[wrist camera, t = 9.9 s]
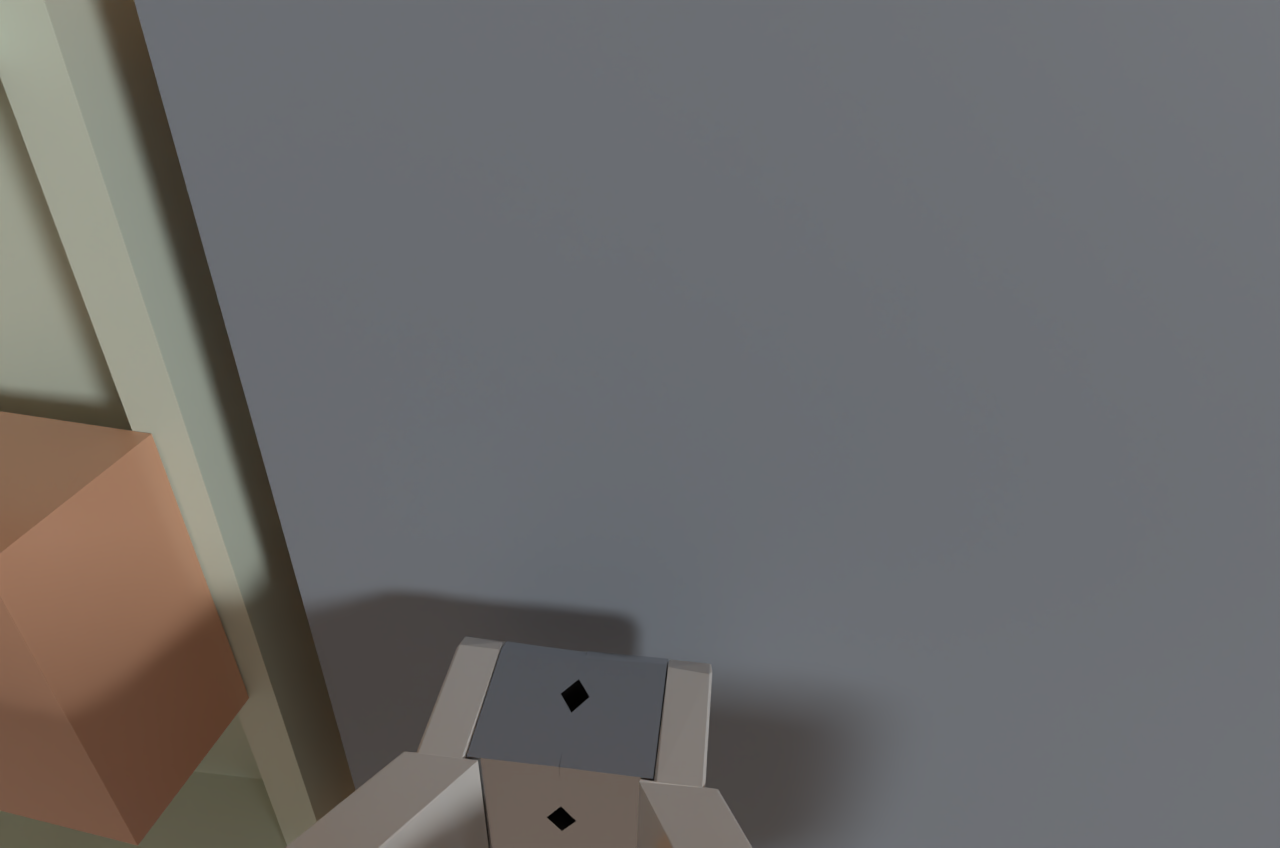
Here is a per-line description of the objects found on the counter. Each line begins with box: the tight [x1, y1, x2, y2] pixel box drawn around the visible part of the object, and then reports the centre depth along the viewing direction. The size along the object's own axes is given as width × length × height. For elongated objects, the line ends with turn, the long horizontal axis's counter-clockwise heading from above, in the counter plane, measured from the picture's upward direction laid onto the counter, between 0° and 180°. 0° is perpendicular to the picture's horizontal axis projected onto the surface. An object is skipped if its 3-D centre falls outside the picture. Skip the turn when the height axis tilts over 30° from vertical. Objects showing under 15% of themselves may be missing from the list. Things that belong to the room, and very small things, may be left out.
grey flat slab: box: [134, 0, 1280, 848], centre depth 12 cm, size 16×14×2 cm
